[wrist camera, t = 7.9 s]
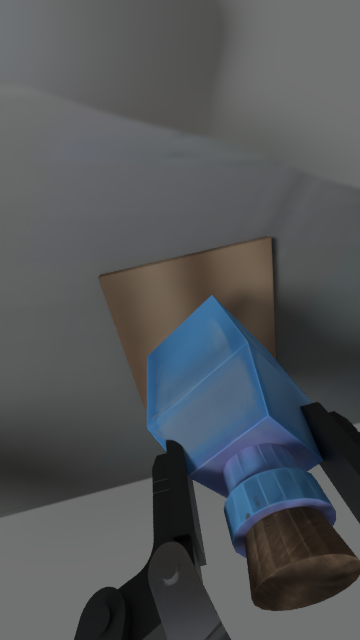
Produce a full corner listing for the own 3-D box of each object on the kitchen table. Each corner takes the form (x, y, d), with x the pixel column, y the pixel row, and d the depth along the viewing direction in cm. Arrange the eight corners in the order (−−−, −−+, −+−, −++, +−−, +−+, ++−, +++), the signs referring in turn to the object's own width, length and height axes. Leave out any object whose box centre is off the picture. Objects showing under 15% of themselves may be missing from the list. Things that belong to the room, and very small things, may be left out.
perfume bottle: (266, 349, 18) (445, 559, 7) (205, 399, 19) (279, 642, 8) (212, 294, 16) (355, 484, 5) (147, 356, 17) (146, 613, 6)
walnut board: (145, 402, 24) (145, 408, 23) (100, 275, 18) (98, 277, 18) (272, 371, 24) (276, 376, 23) (266, 236, 19) (271, 237, 18)
